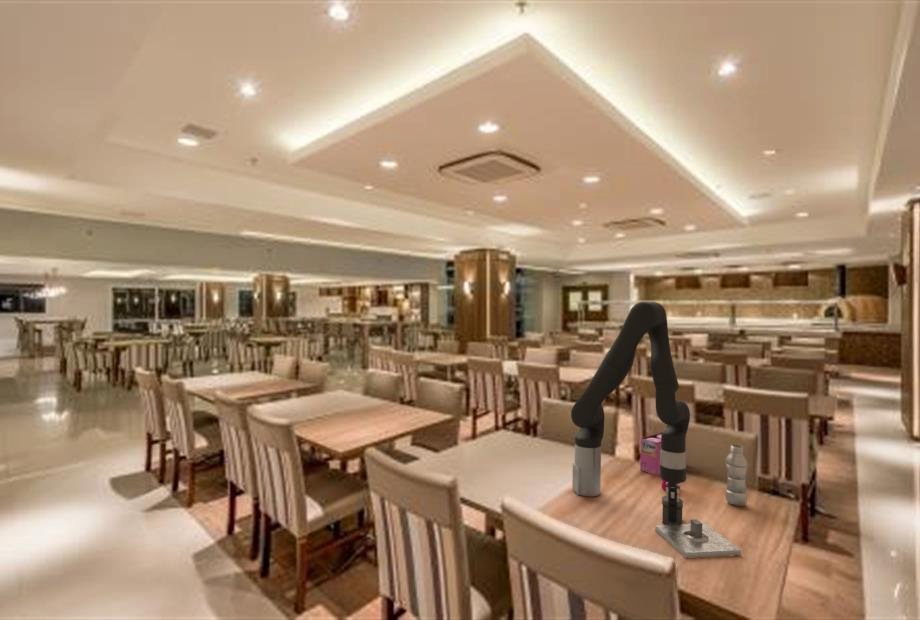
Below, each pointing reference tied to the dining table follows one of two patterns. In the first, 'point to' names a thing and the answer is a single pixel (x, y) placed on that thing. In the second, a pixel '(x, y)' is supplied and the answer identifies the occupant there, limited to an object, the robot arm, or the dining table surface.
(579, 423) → the robot arm
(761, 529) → the dining table surface
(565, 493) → the dining table surface
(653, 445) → the gum box
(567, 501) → the dining table surface
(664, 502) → the knob
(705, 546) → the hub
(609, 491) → the dining table surface
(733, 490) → the plastic bottle
